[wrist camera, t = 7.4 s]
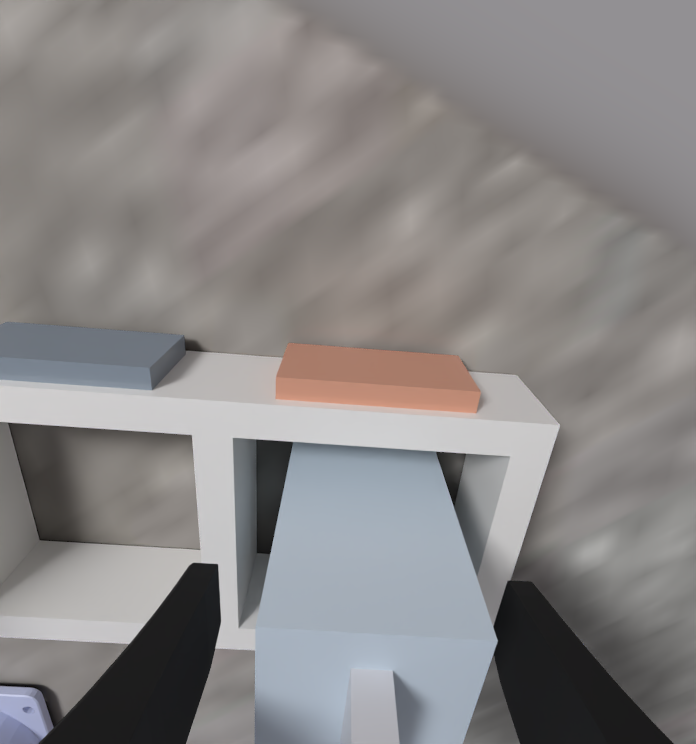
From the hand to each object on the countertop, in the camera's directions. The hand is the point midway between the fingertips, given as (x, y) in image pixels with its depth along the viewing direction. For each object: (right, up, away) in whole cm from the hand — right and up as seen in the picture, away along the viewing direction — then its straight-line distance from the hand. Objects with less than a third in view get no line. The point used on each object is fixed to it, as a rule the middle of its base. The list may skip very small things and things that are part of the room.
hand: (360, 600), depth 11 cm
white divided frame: (-4, +2, +4) cm, 6 cm away
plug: (0, +2, +4) cm, 5 cm away
